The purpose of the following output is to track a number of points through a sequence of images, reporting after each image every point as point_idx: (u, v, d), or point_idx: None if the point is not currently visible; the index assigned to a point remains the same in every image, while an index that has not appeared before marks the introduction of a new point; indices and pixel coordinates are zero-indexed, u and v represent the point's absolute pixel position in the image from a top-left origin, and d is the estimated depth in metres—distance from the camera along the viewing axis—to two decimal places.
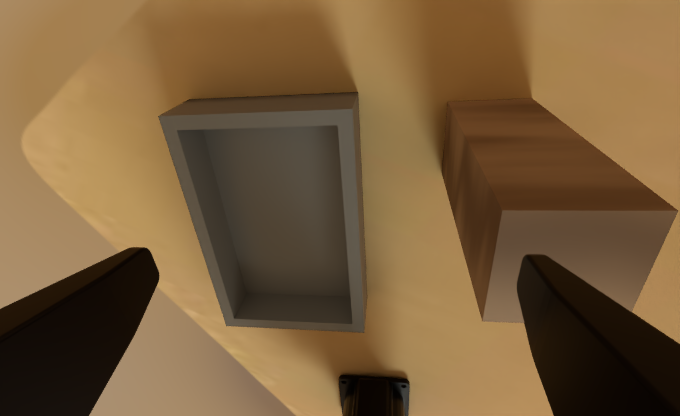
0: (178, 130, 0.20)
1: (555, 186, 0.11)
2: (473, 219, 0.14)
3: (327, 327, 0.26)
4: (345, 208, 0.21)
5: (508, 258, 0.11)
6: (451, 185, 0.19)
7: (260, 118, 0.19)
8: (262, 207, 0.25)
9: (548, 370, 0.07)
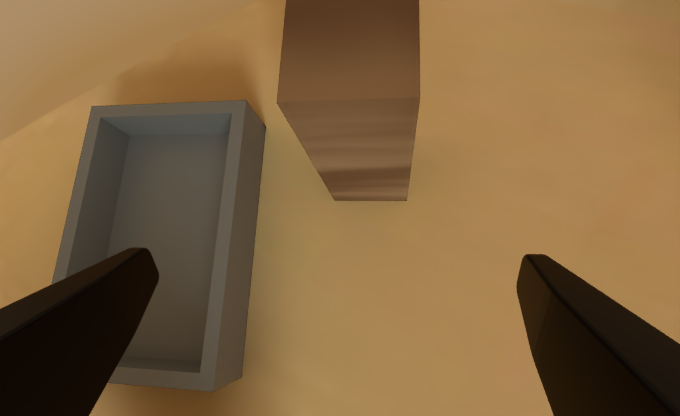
0: (102, 117, 0.23)
1: None
2: None
3: (164, 379, 0.19)
4: (223, 191, 0.21)
5: (295, 27, 0.12)
6: None
7: (171, 107, 0.22)
8: (151, 226, 0.24)
9: (548, 370, 0.07)
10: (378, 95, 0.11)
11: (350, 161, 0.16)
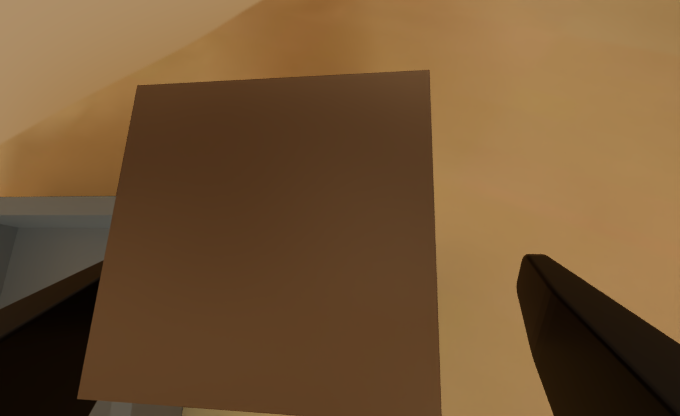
0: None
1: None
2: None
3: None
4: None
5: (143, 189, 0.05)
6: None
7: (58, 203, 0.15)
8: None
9: (548, 370, 0.07)
10: (331, 407, 0.04)
11: None
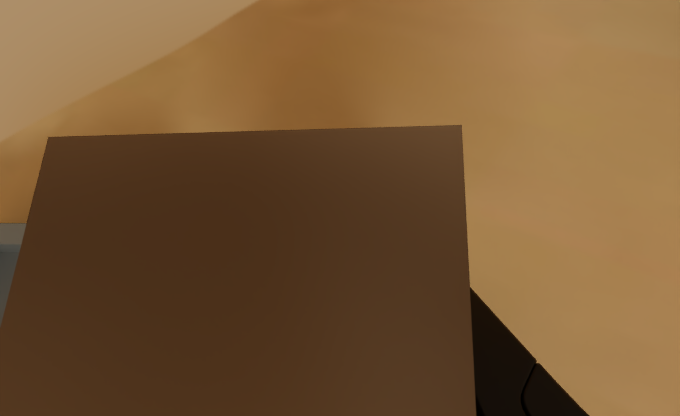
0: None
1: None
2: None
3: None
4: None
5: (44, 296, 0.04)
6: None
7: (24, 231, 0.14)
8: None
9: None
10: None
11: None
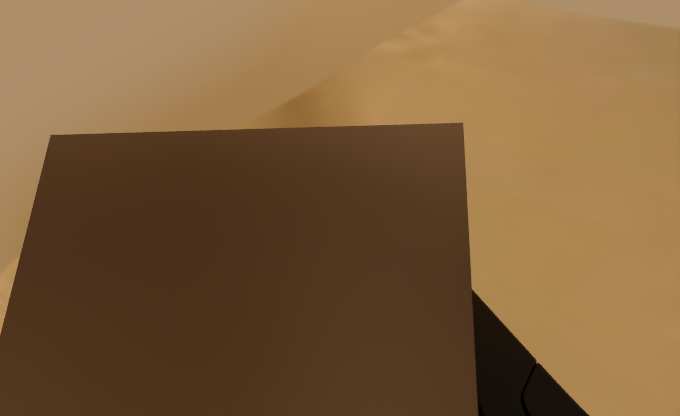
0: None
1: None
2: None
3: None
4: None
5: (48, 293, 0.04)
6: None
7: None
8: None
9: None
10: None
11: None
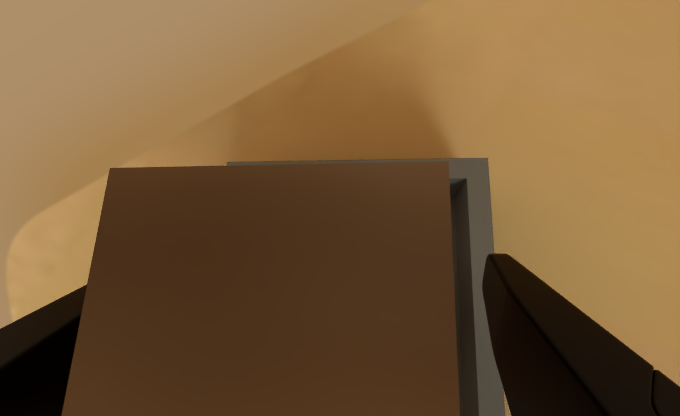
0: None
1: None
2: None
3: None
4: (476, 313, 0.13)
5: (114, 299, 0.05)
6: None
7: None
8: None
9: (506, 368, 0.07)
10: None
11: None
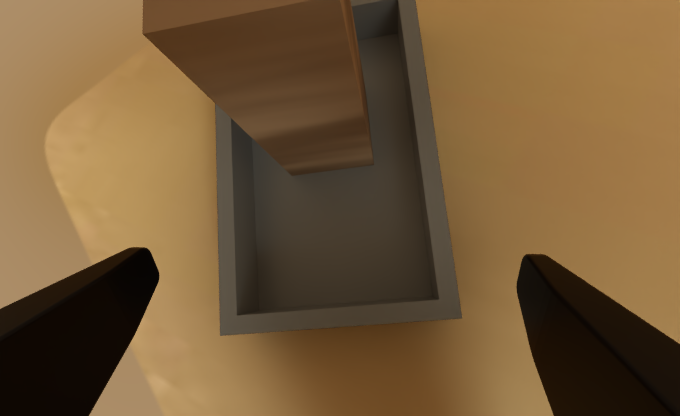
0: None
1: None
2: None
3: (394, 313, 0.15)
4: (412, 88, 0.17)
5: None
6: None
7: None
8: None
9: (548, 370, 0.07)
10: (281, 1, 0.08)
11: (286, 118, 0.13)
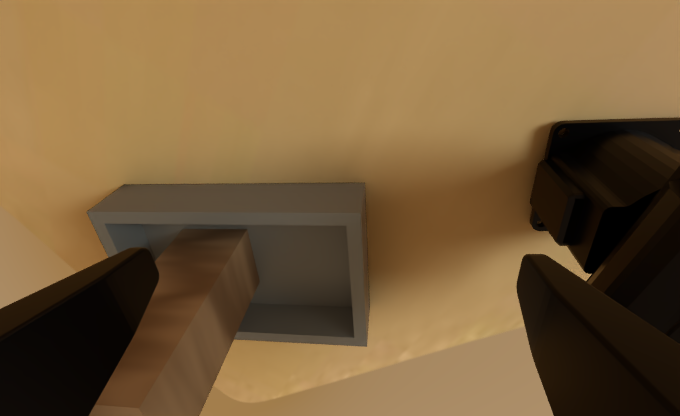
0: None
1: None
2: None
3: (355, 253, 0.20)
4: (180, 222, 0.21)
5: None
6: None
7: None
8: None
9: (548, 370, 0.07)
10: None
11: (214, 343, 0.19)
